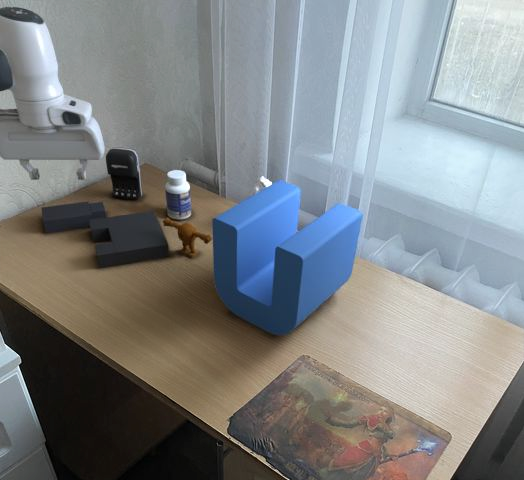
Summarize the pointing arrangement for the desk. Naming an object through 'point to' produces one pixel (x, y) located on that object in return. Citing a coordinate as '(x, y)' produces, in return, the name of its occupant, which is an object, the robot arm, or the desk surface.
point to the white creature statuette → (261, 184)
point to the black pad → (128, 239)
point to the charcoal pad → (71, 216)
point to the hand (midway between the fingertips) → (59, 178)
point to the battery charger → (124, 173)
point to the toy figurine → (187, 236)
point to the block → (281, 257)
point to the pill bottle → (178, 195)
